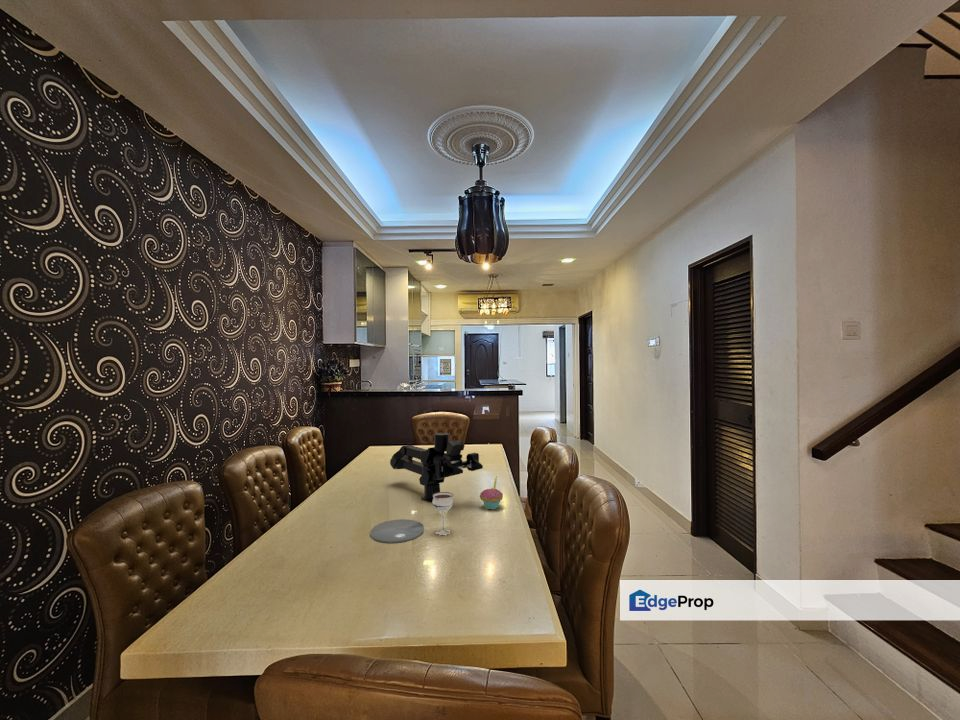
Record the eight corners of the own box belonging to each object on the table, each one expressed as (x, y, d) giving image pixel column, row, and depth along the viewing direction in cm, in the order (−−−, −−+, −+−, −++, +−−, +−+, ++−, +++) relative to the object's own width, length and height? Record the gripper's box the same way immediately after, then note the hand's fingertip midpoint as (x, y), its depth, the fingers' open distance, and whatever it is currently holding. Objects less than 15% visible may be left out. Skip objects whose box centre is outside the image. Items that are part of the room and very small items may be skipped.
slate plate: (361, 531, 136) (361, 528, 136) (406, 517, 147) (406, 515, 147) (387, 548, 123) (387, 545, 123) (434, 532, 134) (434, 529, 134)
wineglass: (450, 537, 130) (450, 499, 130) (429, 536, 131) (429, 497, 131) (456, 529, 137) (455, 492, 137) (436, 527, 138) (435, 491, 138)
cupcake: (503, 504, 160) (503, 473, 160) (502, 512, 151) (502, 479, 151) (481, 504, 160) (480, 472, 161) (478, 512, 152) (478, 479, 152)
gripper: (425, 443, 154) (451, 450, 142) (465, 437, 166) (491, 443, 154) (426, 473, 154) (451, 483, 142) (465, 465, 166) (492, 473, 154)
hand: (472, 469), depth 148 cm, fingers open, 9 cm apart
